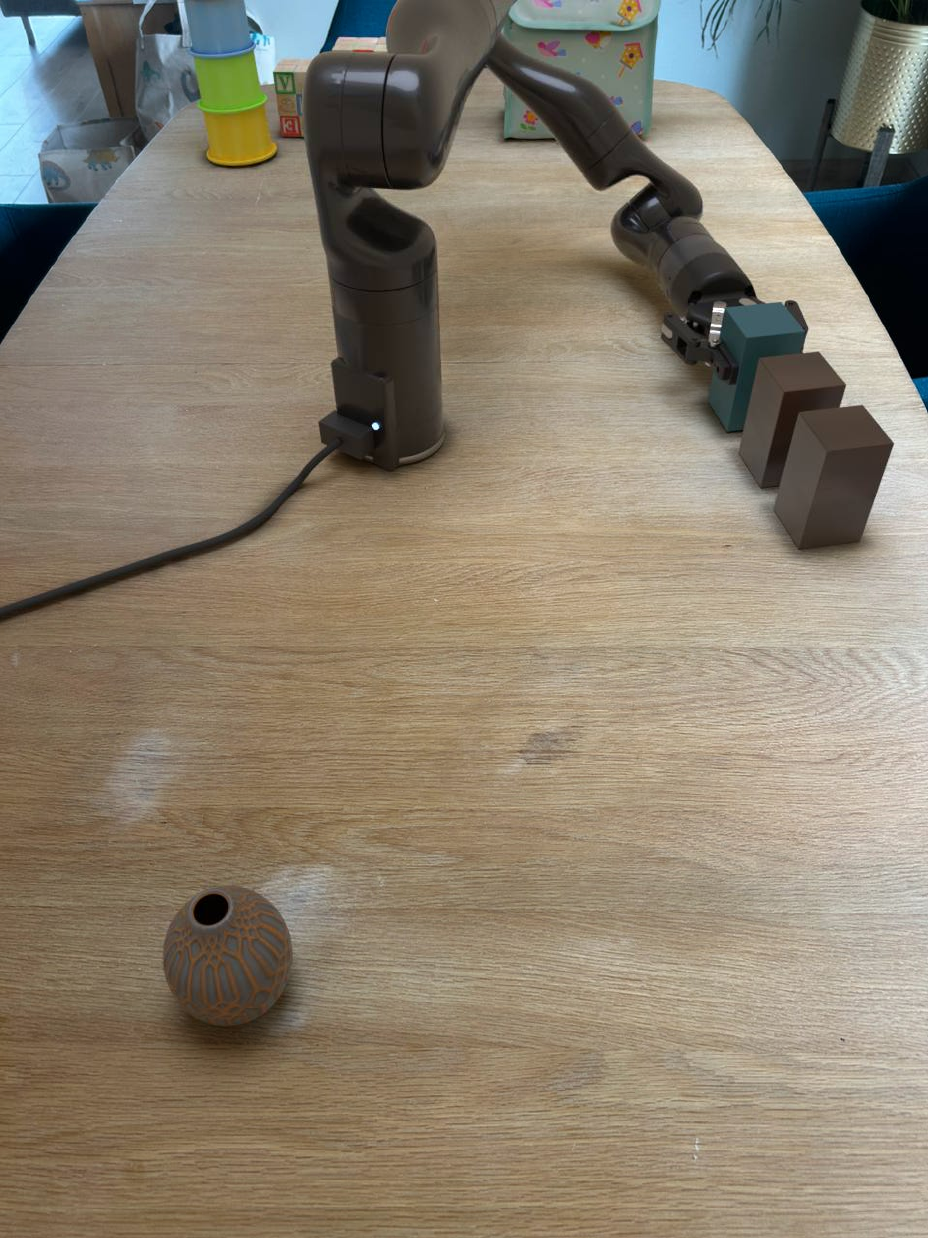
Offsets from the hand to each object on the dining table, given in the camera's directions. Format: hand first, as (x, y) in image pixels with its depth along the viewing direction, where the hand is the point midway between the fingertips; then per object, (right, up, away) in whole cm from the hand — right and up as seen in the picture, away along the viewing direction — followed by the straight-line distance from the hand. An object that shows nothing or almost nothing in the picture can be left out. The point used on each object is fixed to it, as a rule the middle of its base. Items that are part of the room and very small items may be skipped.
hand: (766, 372), depth 92 cm
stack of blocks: (-45, +52, +62) cm, 92 cm away
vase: (-41, -44, -34) cm, 69 cm away
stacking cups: (-60, +46, +56) cm, 94 cm away
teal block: (0, -2, +6) cm, 7 cm away
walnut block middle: (+1, -9, 0) cm, 9 cm away
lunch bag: (-11, +53, +62) cm, 82 cm away
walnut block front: (+3, -15, -6) cm, 16 cm away
